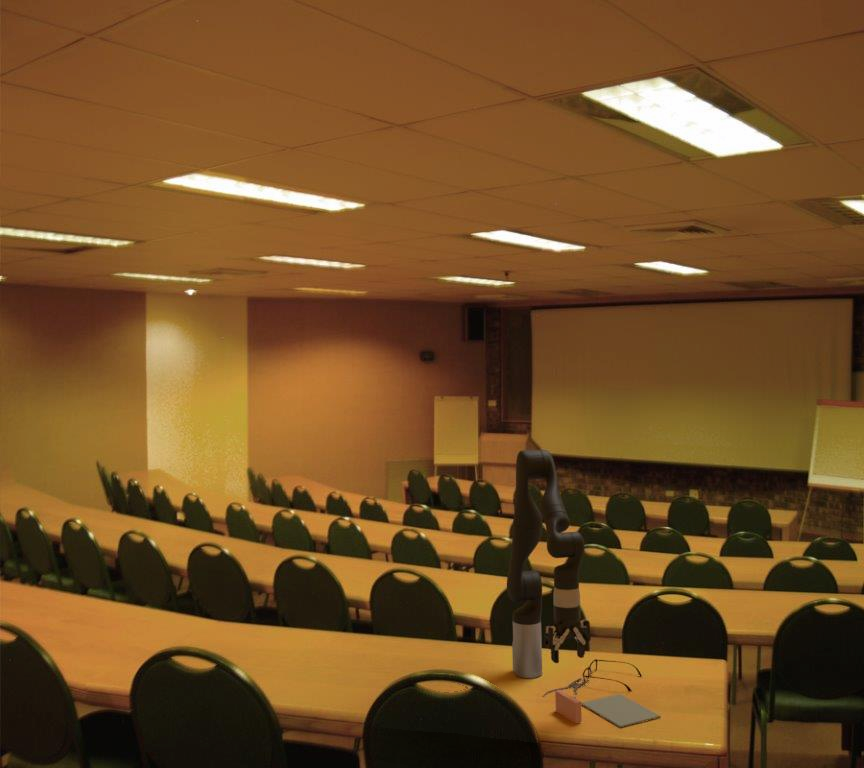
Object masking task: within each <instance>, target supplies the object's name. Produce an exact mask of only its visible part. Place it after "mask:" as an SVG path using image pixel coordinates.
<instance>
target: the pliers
mask: <svg viewBox="0 0 864 768" xmlns="http://www.w3.org/2000/svg"><path fill="white" fill-rule="evenodd" d="M579 680H580V681H582V677H579V678H578V679H575V680H574V681H572V682H571V683H570V684H568V685H567V686H564V687H561V688H555V689H552V690H548V691H546V692H545V693H544V694H543V695H542V696H541V697H542V698H545V697H546V696H547V695H549V694H551V693H554V692H555V691H556V690H562V691H564V689H565V690H569V689H572V688H571V687H574V688H573V693H574V692H575V695H577V696H578V690H579V689H580V688H582V687H584V686H583V685H585V684H586V683H587V682H588V681H589V682H590V679H589V680H588V679H585V682H584V681H582V682H580V681H579ZM576 682H579V683H576ZM589 682H588V683H589ZM588 683H587V684H588ZM581 686H582V687H581ZM585 686H586V685H585ZM568 688H569V689H568ZM578 688H579V689H578ZM577 689H578V690H577ZM553 691H554V692H553ZM576 691H577V692H576ZM548 693H549V694H548ZM545 695H546V696H545ZM573 697H574V696H573ZM574 698H576V697H574ZM576 699H577V698H576Z"/></svg>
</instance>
